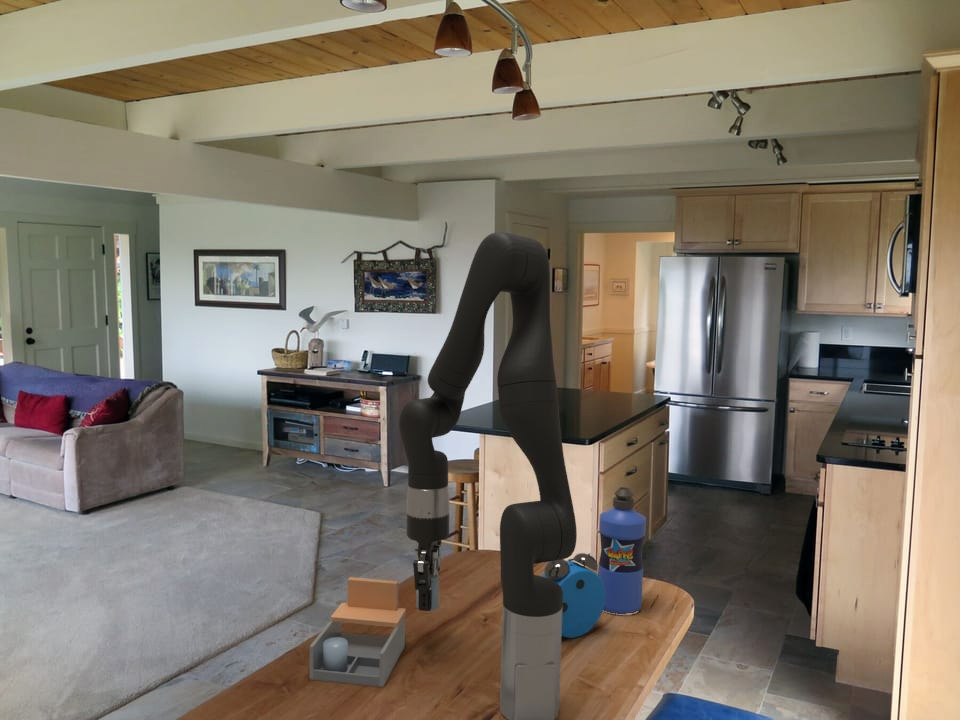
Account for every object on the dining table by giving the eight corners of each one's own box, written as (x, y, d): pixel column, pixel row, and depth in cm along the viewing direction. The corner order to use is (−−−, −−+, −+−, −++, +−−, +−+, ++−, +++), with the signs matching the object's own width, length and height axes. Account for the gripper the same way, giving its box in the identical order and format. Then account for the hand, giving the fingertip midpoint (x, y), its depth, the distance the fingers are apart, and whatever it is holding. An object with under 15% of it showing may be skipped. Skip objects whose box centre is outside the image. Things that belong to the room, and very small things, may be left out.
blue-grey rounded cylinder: (439, 610, 139) (439, 582, 138) (416, 611, 138) (417, 583, 138) (437, 601, 142) (437, 574, 142) (415, 602, 142) (415, 575, 142)
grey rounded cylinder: (346, 677, 130) (346, 648, 129) (322, 677, 129) (322, 648, 129) (348, 665, 134) (348, 636, 133) (324, 665, 133) (324, 637, 133)
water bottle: (599, 594, 168) (603, 480, 165) (643, 600, 166) (649, 484, 163) (593, 612, 159) (598, 492, 156) (640, 619, 157) (646, 496, 154)
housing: (382, 692, 127) (383, 653, 126) (309, 684, 129) (309, 646, 128) (404, 651, 141) (404, 616, 140) (337, 645, 143) (338, 610, 142)
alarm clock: (585, 619, 156) (588, 545, 154) (605, 631, 151) (608, 555, 149) (531, 633, 149) (533, 557, 148) (550, 647, 144) (553, 567, 142)
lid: (397, 627, 136) (397, 595, 135) (330, 621, 138) (330, 589, 137) (405, 612, 142) (406, 581, 141) (341, 607, 144) (341, 576, 143)
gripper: (442, 522, 131) (441, 622, 133) (455, 501, 145) (454, 591, 147) (397, 520, 132) (397, 620, 134) (415, 499, 146) (415, 589, 148)
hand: (427, 604), depth 140 cm, fingers closed on blue-grey rounded cylinder, 4 cm apart
